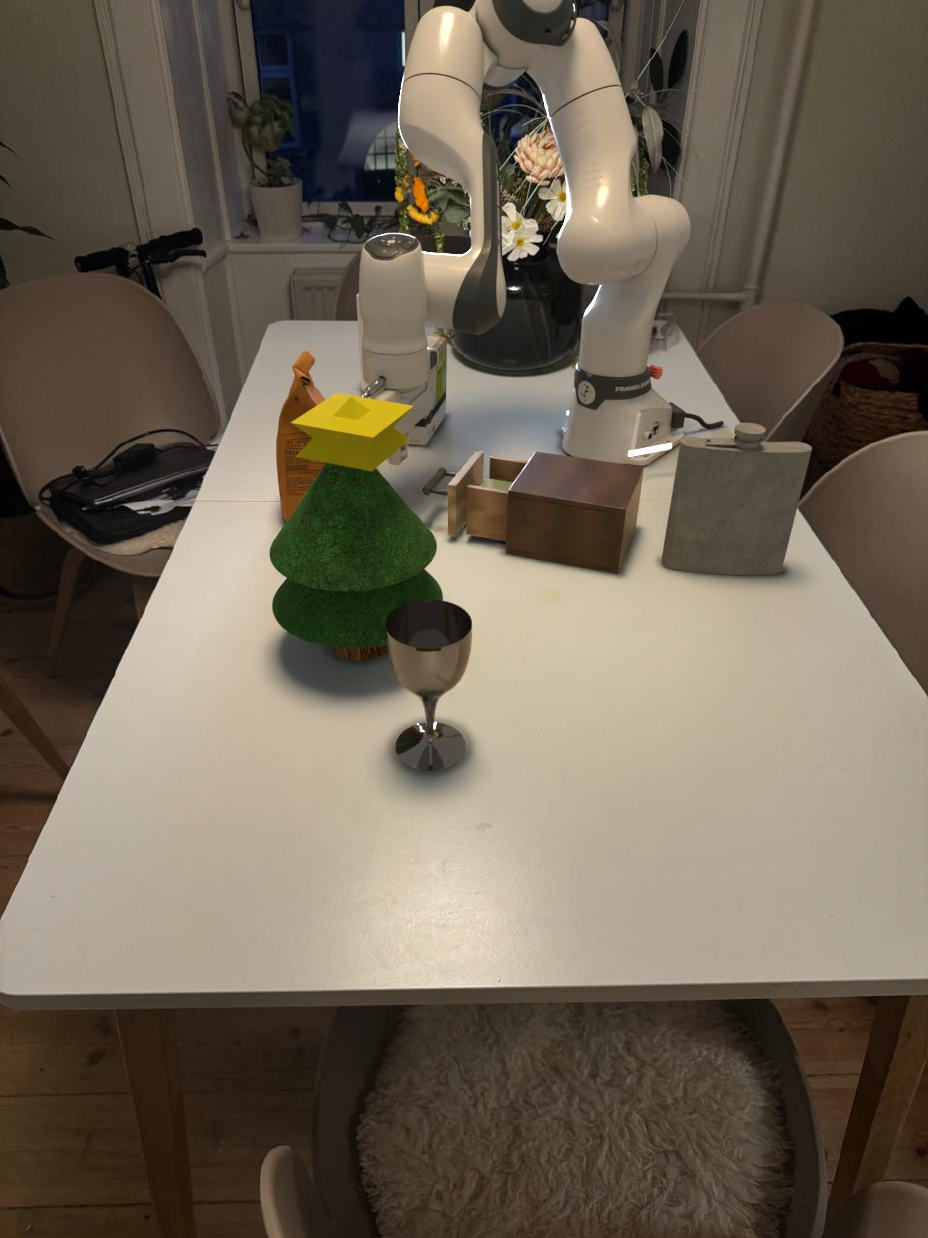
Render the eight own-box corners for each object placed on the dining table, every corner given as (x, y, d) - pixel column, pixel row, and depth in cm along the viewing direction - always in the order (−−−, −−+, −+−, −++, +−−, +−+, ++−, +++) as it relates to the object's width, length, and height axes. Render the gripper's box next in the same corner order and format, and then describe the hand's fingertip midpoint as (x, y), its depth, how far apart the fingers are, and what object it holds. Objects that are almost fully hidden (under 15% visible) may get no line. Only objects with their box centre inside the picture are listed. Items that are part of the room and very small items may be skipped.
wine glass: (390, 721, 91) (384, 600, 83) (466, 718, 92) (468, 597, 83) (391, 775, 85) (385, 650, 76) (473, 771, 85) (476, 646, 77)
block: (485, 506, 128) (485, 477, 125) (514, 511, 127) (515, 482, 124) (474, 519, 124) (475, 490, 122) (505, 524, 123) (506, 495, 121)
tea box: (428, 447, 150) (427, 361, 142) (372, 442, 152) (367, 356, 144) (447, 415, 163) (447, 334, 154) (395, 410, 164) (392, 330, 156)
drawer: (414, 529, 124) (413, 479, 120) (445, 493, 134) (444, 445, 129) (548, 553, 119) (551, 501, 114) (569, 513, 129) (573, 464, 124)
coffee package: (351, 488, 137) (341, 346, 124) (345, 526, 127) (334, 376, 114) (287, 488, 136) (271, 346, 124) (275, 526, 126) (257, 376, 114)
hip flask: (778, 563, 119) (813, 422, 108) (785, 578, 116) (821, 435, 104) (660, 556, 120) (682, 416, 109) (662, 571, 117) (685, 429, 106)
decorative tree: (330, 585, 113) (309, 353, 96) (468, 618, 107) (472, 377, 90) (245, 668, 98) (203, 412, 82) (399, 712, 93) (388, 446, 76)
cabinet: (505, 553, 120) (508, 490, 115) (531, 511, 131) (535, 450, 126) (618, 574, 116) (626, 509, 111) (635, 528, 127) (644, 466, 122)
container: (371, 374, 181) (367, 283, 171) (440, 378, 180) (440, 286, 169) (354, 398, 169) (349, 302, 159) (428, 403, 168) (427, 306, 158)
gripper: (385, 394, 110) (389, 494, 118) (443, 347, 126) (443, 438, 133) (339, 387, 111) (346, 487, 119) (403, 342, 127) (405, 432, 135)
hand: (398, 461), depth 126 cm, fingers closed
